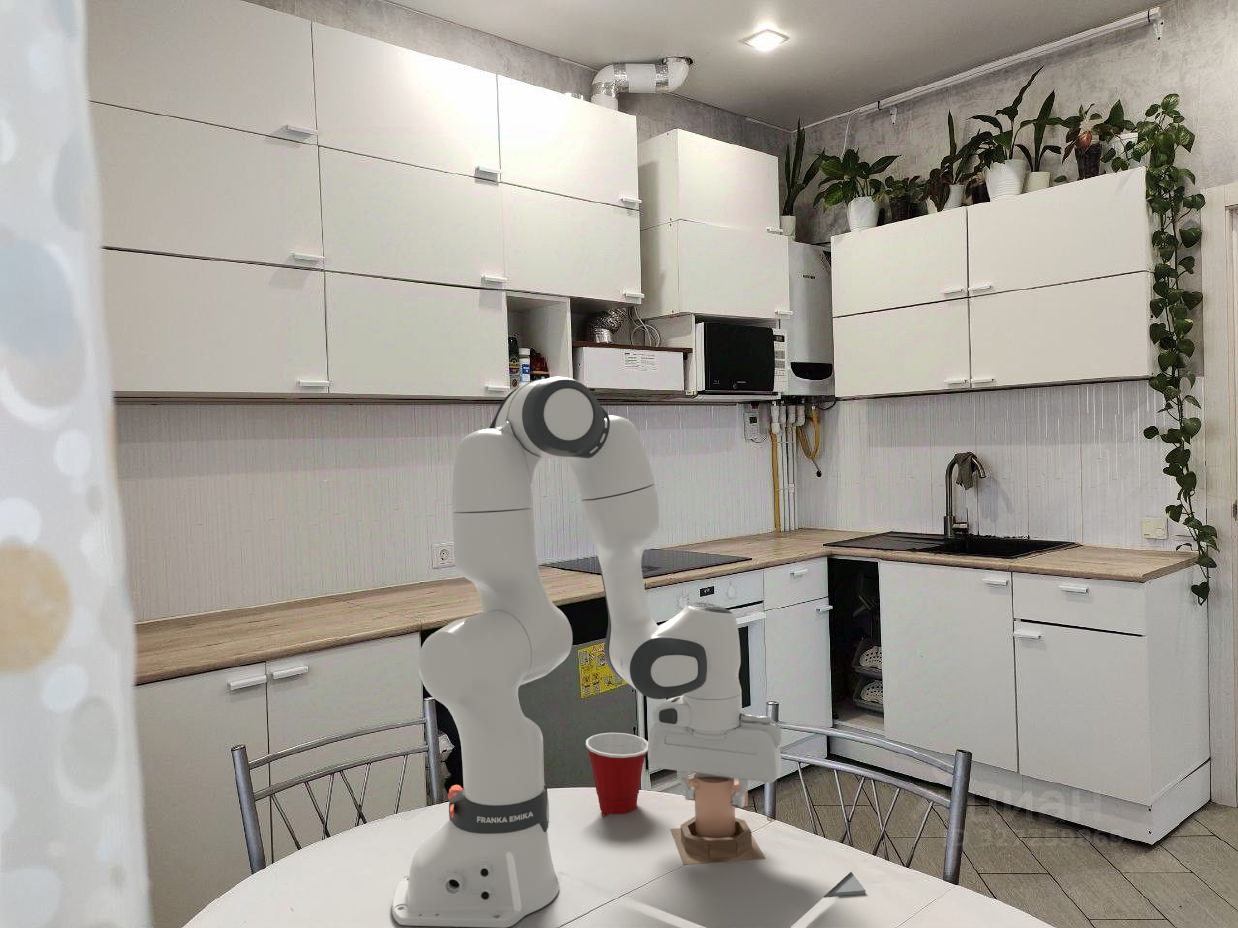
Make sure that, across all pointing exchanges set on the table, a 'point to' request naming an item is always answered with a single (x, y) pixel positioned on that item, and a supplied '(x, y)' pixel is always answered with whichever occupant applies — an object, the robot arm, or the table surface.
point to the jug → (715, 805)
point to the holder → (715, 845)
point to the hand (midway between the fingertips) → (714, 802)
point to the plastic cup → (617, 770)
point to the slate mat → (847, 887)
